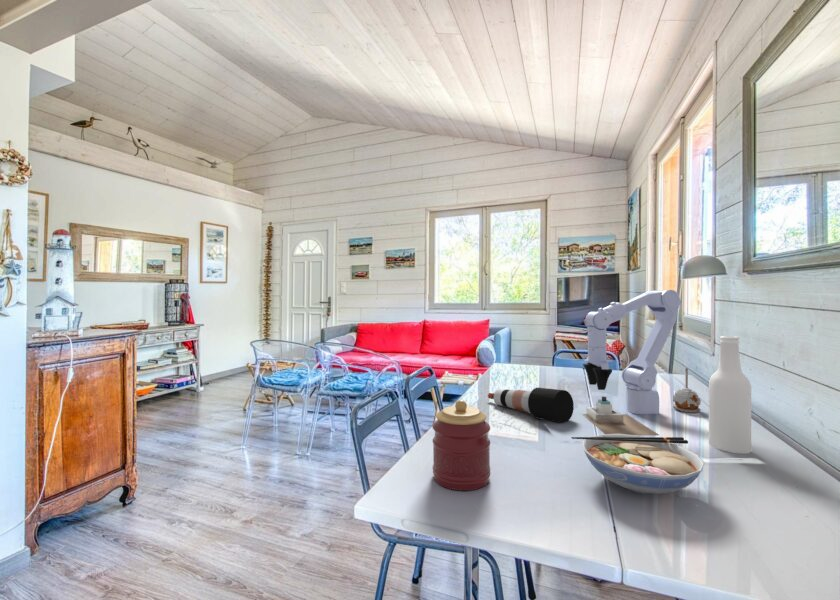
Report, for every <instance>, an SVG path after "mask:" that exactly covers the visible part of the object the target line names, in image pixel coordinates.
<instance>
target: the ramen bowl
mask: <svg viewBox="0 0 840 600" xmlns="http://www.w3.org/2000/svg"><path fill="white" fill-rule="evenodd" d="M571 439H572V440H583V441H582V450H583V452H584V454H585V456H586V457H587V459H588V460H589V463H590V464H591V465H592V466H593V468H594V469H595V470H596V471H597V472H599V474H601V475H602V476H603V477H604V478H606V479H607V480H608V481H610V482H612V483H614V484H616V485H618V486H620V487H621V488H624V489H627V490H629V491H632V492H634V493H638V494H644V495H654V494H655V495H657V494H659V495H660V494H670V493H674V492H677V491H680V490H682V489H685V488H687V487H688V486H690V485H691V484H692V483H694V481H695V480H696V479H697V478H698V477H699V475H700V474H701V472H702V471H703V468H704V465H705V462H704V461H703V460H702V459H701V457H700V456H699V455H698V454H697V453H695V452H693V451H692V450H689V449H687V448H685V447H684V446H681V445H678V444H682V445H683V444H685V445H686V444H689V440H688V439H685V438H684V437H683V436H681V437H680V436H679V437H678V436H676V437H675V436H672V437H671V436H670V437H668V436H666V437H662V436H661V437H660V436H654V437H653V436H645V435H627V434H604V433H603V434H598V435H593V436H589V437H588V436H586V437H585V436H584V437H582V436H581V437H580V436H573V437H572V436H571Z"/></svg>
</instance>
